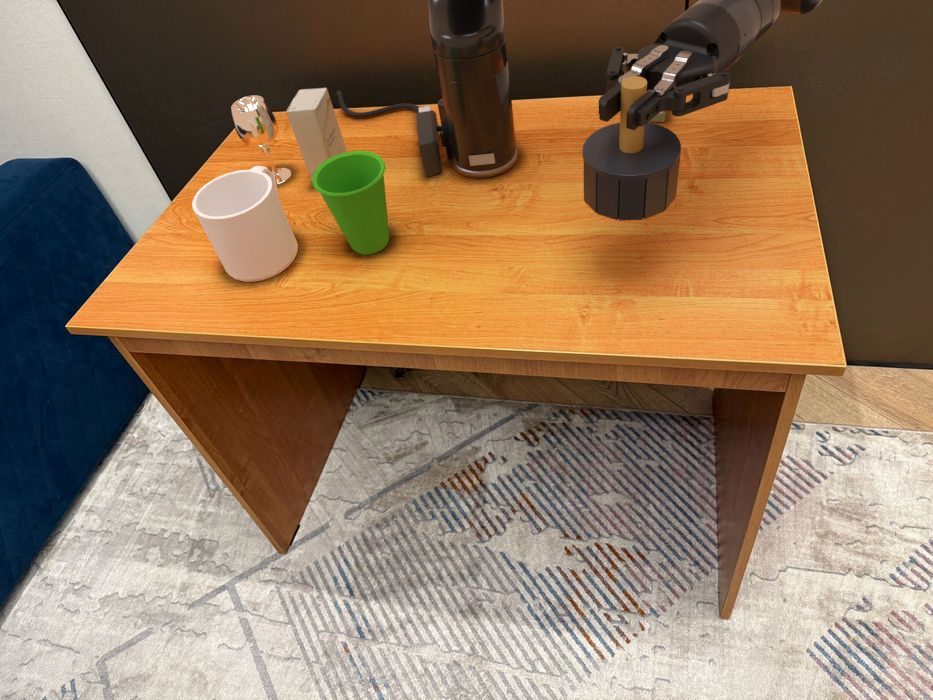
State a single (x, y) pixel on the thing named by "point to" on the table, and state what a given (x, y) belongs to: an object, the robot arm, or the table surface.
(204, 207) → the mug
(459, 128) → the robot arm
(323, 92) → the cosmetic box
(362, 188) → the cup
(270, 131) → the wineglass
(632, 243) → the table surface
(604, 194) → the gray cylinder with peg
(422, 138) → the usb drive
